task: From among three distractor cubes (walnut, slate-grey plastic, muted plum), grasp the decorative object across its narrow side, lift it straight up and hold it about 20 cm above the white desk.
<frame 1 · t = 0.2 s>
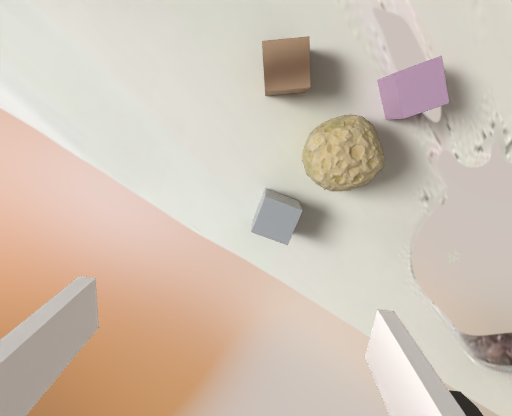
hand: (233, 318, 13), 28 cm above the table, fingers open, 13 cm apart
walnut cube: (283, 72, 36), on the table
decorative object: (334, 151, 38), on the table
plum cube: (401, 93, 36), on the table
slate cube: (275, 210, 41), on the table
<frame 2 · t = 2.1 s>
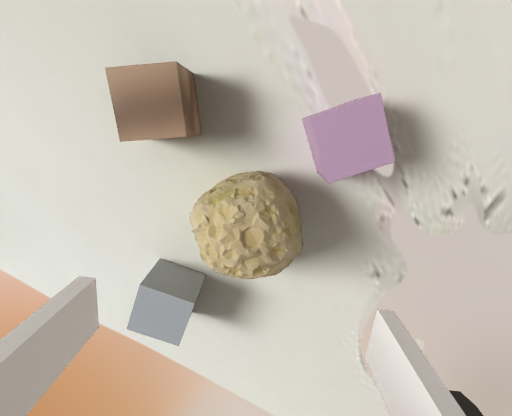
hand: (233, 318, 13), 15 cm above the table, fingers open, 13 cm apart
walnut cube: (169, 106, 25), on the table
decorative object: (250, 212, 28), on the table
plum cube: (336, 136, 25), on the table
slate cube: (176, 285, 30), on the table
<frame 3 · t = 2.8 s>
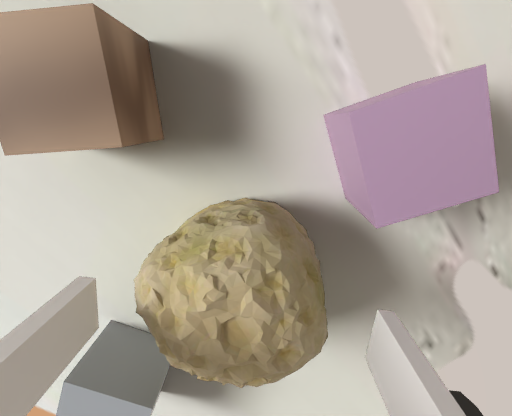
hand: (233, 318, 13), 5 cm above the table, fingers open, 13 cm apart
walnut cube: (112, 96, 16), on the table
decorative object: (242, 256, 18), on the table
plum cube: (378, 143, 16), on the table
slate cube: (137, 356, 21), on the table
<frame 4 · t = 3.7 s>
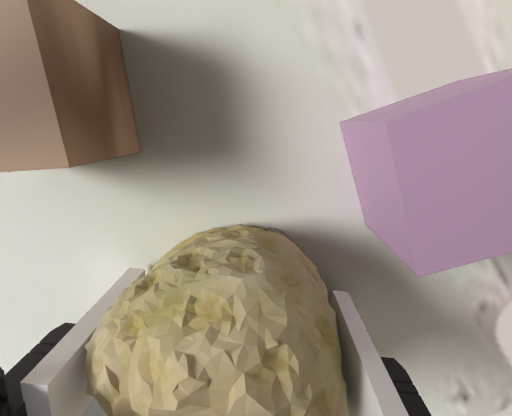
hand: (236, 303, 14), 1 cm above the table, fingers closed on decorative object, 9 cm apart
walnut cube: (76, 98, 13), on the table
decorative object: (236, 293, 15), on the table, touching gripper
plum cube: (407, 157, 13), on the table
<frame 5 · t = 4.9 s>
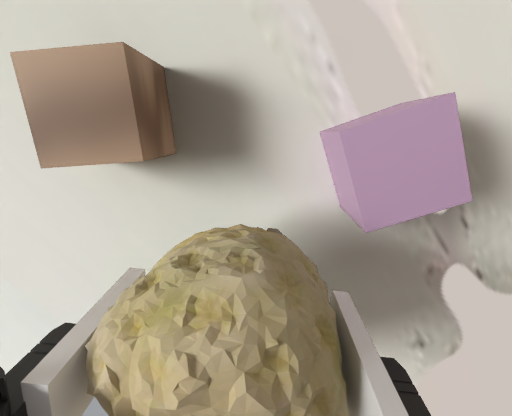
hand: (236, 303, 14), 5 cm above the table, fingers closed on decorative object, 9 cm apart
walnut cube: (130, 114, 18), on the table
decorative object: (236, 293, 15), point 5 cm above the table, touching gripper
plum cube: (368, 157, 18), on the table
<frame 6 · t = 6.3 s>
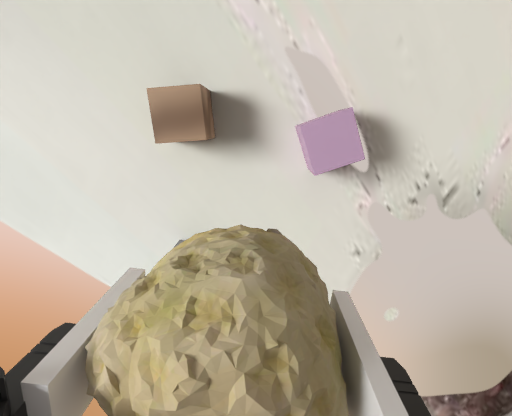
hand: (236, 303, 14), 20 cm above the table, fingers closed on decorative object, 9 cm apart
walnut cube: (190, 116, 32), on the table
decorative object: (236, 293, 15), point 19 cm above the table, touching gripper
plum cube: (322, 140, 32), on the table
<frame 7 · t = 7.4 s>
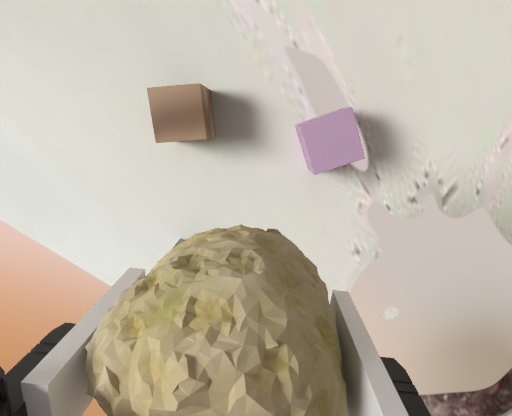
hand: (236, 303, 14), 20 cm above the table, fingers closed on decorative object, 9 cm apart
walnut cube: (190, 115, 32), on the table
decorative object: (236, 293, 15), point 20 cm above the table, touching gripper
plum cube: (322, 139, 32), on the table
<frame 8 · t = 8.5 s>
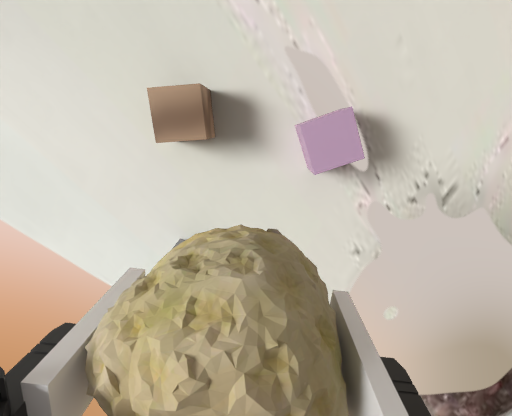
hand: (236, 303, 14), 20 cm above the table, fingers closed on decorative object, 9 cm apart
walnut cube: (190, 115, 32), on the table
decorative object: (236, 293, 15), point 20 cm above the table, touching gripper
plum cube: (322, 139, 32), on the table
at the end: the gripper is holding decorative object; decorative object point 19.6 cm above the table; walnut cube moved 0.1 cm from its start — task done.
